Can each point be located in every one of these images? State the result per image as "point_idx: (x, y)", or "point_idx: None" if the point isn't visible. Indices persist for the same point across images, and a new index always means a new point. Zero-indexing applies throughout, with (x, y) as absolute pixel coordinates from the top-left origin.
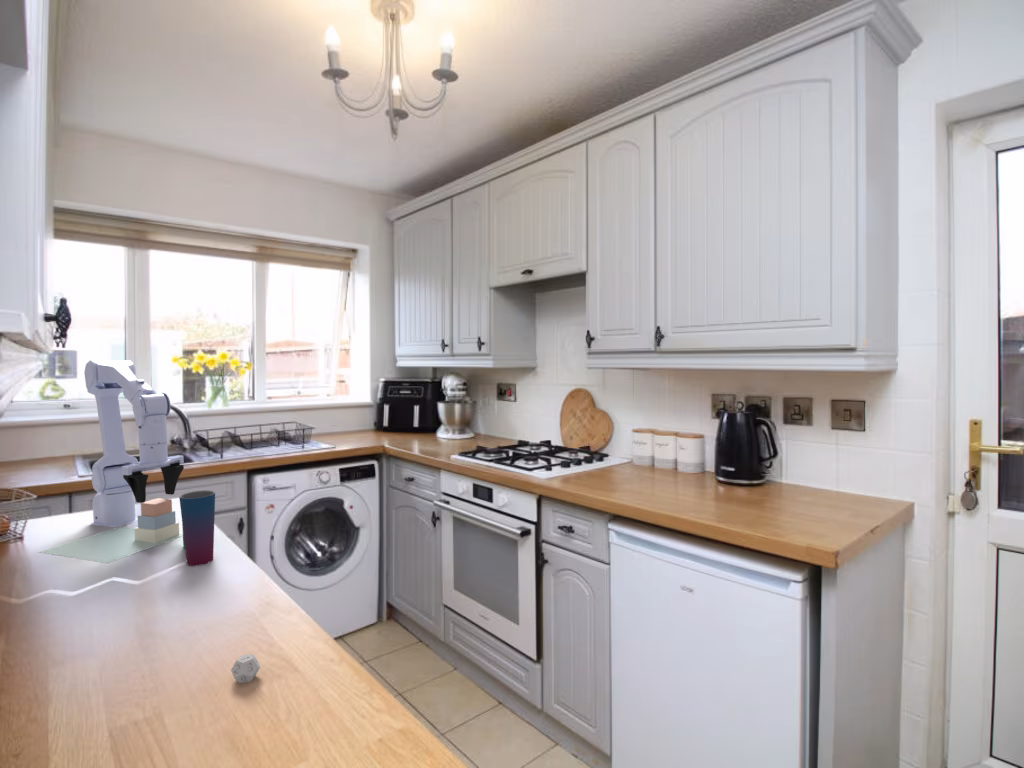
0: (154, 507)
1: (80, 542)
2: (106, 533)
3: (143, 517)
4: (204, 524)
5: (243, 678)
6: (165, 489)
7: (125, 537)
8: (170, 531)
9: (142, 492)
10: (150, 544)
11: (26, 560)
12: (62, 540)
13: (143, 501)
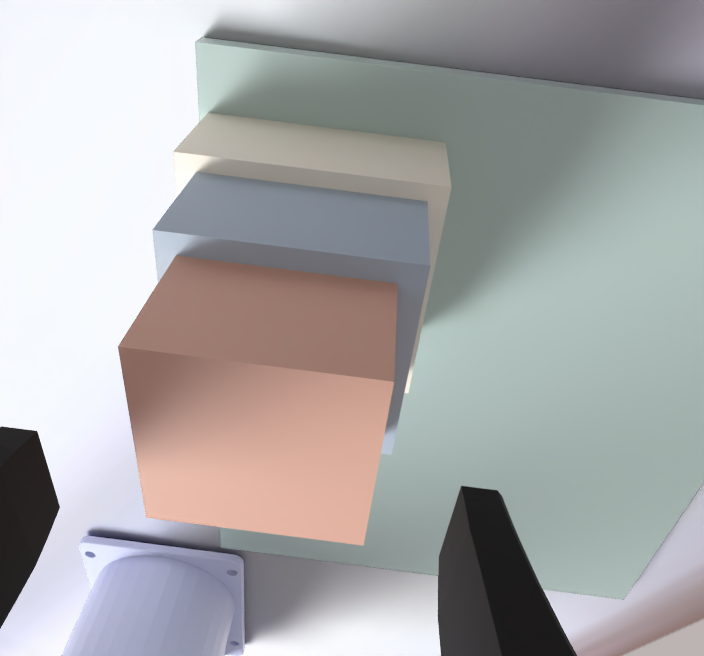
0: (393, 356)
1: None
2: None
3: (403, 389)
4: None
5: None
6: (26, 566)
7: None
8: (284, 142)
9: (561, 634)
10: (482, 150)
11: (697, 579)
12: (430, 620)
13: (489, 500)
